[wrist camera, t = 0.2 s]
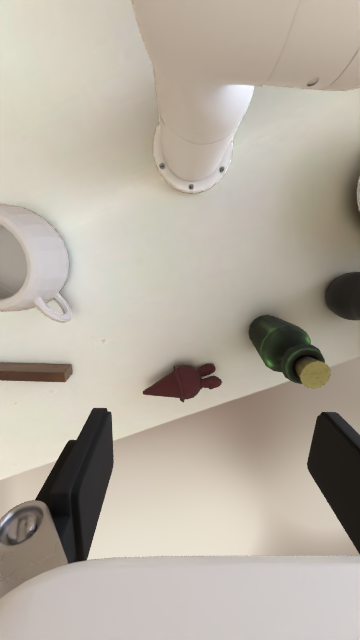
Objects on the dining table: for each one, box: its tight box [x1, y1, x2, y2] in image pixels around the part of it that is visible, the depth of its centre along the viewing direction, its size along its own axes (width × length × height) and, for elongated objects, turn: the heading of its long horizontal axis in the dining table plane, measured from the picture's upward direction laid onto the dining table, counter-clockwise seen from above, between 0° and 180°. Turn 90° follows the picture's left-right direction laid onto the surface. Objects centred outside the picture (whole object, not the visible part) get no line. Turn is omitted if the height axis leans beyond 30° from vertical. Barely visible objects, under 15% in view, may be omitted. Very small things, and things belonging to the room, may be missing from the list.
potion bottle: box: [249, 315, 330, 389], centre depth 40 cm, size 8×8×18 cm
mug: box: [0, 204, 72, 323], centre depth 39 cm, size 21×17×10 cm
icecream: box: [143, 364, 222, 402], centre depth 47 cm, size 7×7×15 cm
